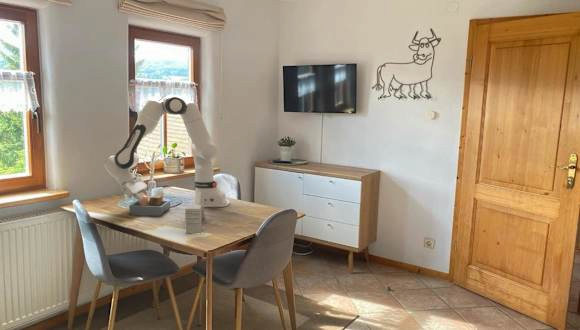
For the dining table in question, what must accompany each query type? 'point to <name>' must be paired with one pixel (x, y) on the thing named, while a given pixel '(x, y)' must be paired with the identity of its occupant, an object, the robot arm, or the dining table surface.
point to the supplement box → (193, 218)
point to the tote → (149, 209)
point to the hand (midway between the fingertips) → (145, 198)
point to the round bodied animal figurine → (202, 211)
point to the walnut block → (156, 201)
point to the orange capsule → (144, 201)
